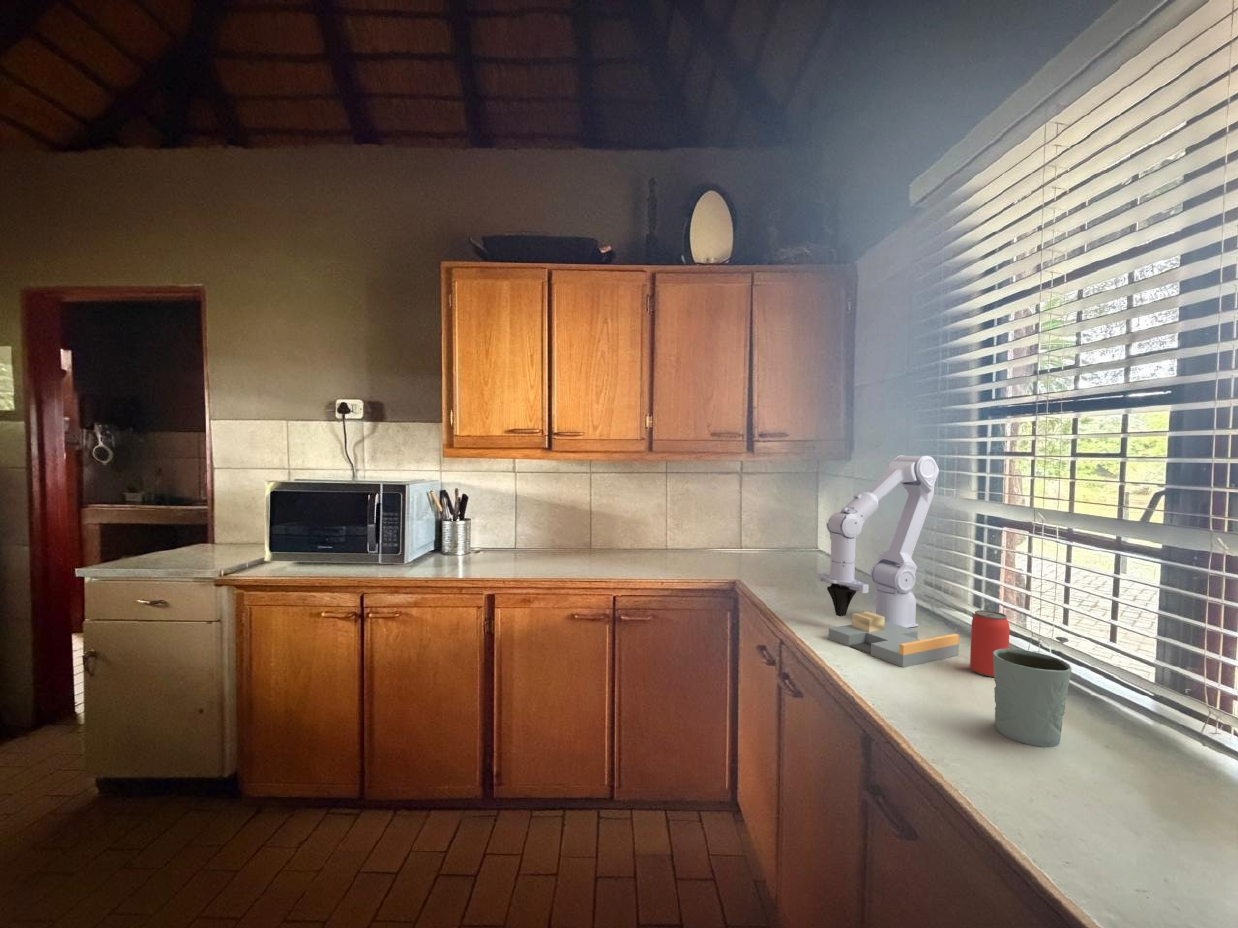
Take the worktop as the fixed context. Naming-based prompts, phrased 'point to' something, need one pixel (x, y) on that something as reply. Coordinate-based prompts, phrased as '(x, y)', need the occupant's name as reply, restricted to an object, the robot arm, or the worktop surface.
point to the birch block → (868, 621)
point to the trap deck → (897, 644)
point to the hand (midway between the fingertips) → (840, 615)
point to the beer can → (987, 640)
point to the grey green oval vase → (1030, 696)
